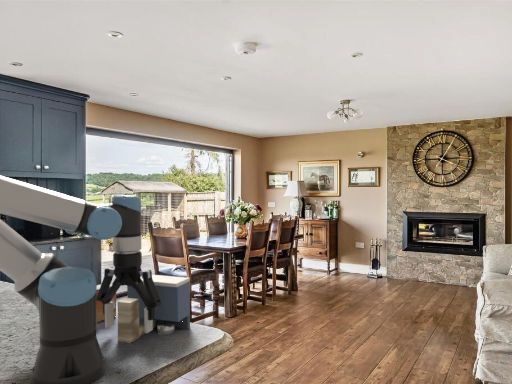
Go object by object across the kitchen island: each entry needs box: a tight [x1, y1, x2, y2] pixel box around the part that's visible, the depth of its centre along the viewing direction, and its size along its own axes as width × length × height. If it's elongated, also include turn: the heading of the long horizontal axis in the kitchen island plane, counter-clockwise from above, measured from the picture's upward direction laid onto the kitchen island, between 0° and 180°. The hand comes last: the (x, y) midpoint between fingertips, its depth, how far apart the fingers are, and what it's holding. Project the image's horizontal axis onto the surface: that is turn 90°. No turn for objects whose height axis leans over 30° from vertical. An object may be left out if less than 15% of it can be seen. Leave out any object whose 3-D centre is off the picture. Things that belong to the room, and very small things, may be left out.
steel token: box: [156, 321, 176, 336], centre depth 120 cm, size 5×5×2 cm
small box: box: [96, 283, 117, 324], centre depth 132 cm, size 8×6×10 cm
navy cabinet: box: [126, 274, 191, 330], centre depth 122 cm, size 8×17×15 cm, turn 70°
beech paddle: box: [116, 297, 157, 344], centre depth 118 cm, size 13×4×11 cm, turn 160°
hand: (128, 328), depth 114 cm, fingers open, 12 cm apart
